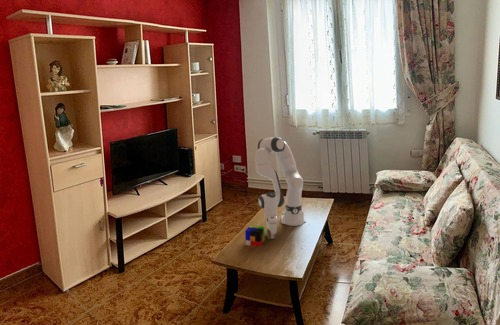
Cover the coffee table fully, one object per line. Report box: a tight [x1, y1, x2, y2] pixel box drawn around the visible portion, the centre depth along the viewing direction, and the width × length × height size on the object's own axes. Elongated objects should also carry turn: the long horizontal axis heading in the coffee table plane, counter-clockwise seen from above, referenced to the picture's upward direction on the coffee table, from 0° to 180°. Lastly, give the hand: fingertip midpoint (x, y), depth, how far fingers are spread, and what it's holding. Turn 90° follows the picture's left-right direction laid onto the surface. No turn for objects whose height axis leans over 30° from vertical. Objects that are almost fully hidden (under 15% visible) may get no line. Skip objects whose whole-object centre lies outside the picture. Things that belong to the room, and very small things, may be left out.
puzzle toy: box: [244, 224, 265, 247], centre depth 277 cm, size 10×10×10 cm
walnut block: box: [266, 229, 276, 240], centre depth 286 cm, size 5×5×5 cm
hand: (271, 235), depth 286 cm, fingers open, 8 cm apart
